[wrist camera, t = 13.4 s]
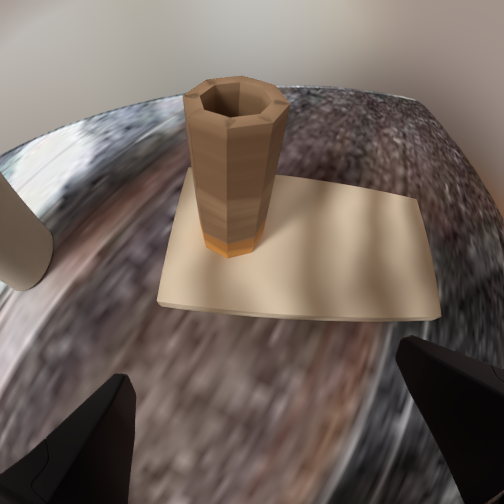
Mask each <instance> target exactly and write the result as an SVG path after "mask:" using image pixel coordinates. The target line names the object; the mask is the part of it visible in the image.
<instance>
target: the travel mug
mask: <svg viewBox="0 0 504 504" xmlns="http://www.w3.org/2000/svg"><path fill="white" fill-rule="evenodd" d="M52 252H53V239H52V235H51V233H50V231H49V230H48V229H47V228H46V227H45V225H44V224H43V223H42V222H41V221H40V220H39V219H38V218H37V217H36V215H35V214H34V213H33V212H32V211H31V210H30V209H29V207H28V206H27V205H26V204H25V203H24V201H23V200H22V199H21V198H20V197H19V195H18V194H17V193H16V192H15V190H14V189H13V188H12V187H11V185H10V184H9V183H8V181H7V180H6V179H5V177H4V176H3V175H2V173H1V172H0V280H1V281H2V282H4V283H5V284H7V285H8V286H10V287H12V288H13V289H15V290H18V291H24V290H27V289H30V288H31V287H33V286H34V285H35V284H36V283H37V282H38V281H39V280H40V279H41V278H42V276H43V275H44V273H45V272H46V270H47V268H48V265H49V263H50V260H51V257H52Z"/></svg>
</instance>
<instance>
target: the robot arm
mask: <svg viewBox="0 0 504 504" xmlns="http://www.w3.org/2000/svg"><path fill="white" fill-rule="evenodd" d="M395 358H396V363H397V365H398V367H399V369H400V371H401V374H402V376H403V378H404V380H405V383H406V385H407V387H408V390H409V392H410V394H411V396H412V398H413V400H414V401H415V403H416V405H417V407H418V409H419V410H420V412H421V414H422V416H423V418H424V420H425V421H426V423H427V425H428V427H429V429H430V431H431V433H432V435H433V437H434V439H435V441H436V443H437V445H438V447H439V449H440V451H441V453H442V455H443V457H444V459H445V461H446V463H447V465H448V467H449V469H450V471H451V474H452V475H453V478H454V481H455V483H456V485H457V487H458V490H459V492H460V494H461V497H462V499H463V502H464V504H485V503H486V502H488V501H489V500H491V499H492V498H494V497H495V496H496V495H498V494H499V493H500V492H502V491H503V490H504V369H501V368H498V367H496V366H493V365H490V364H487V363H485V362H482V361H479V360H476V359H474V358H471V357H468V356H466V355H463V354H460V353H458V352H455V351H452V350H450V349H447V348H444V347H442V346H439V345H436V344H434V343H431V342H429V341H426V340H423V339H421V338H418V337H416V336H413V335H409V336H406V337H403V338H402V339H401V340H400V343H399V346H398V349H397V352H396V357H395ZM135 413H136V393H135V390H134V388H133V386H132V383H131V381H130V379H129V377H128V375H127V374H114V375H113V376H111V377H110V378H109V379H108V380H107V381H106V382H105V383H104V384H103V385H102V386H101V387H100V388H98V389H97V390H96V391H95V392H94V393H93V394H92V395H91V396H90V397H89V398H88V399H87V400H86V401H84V402H83V403H82V404H81V405H80V406H79V407H78V408H77V409H76V410H75V411H74V412H73V413H72V414H70V415H69V416H68V417H67V418H66V419H65V420H64V421H63V422H62V423H61V424H60V425H59V426H58V427H57V428H55V429H54V430H53V431H52V432H51V433H50V434H49V435H48V436H47V437H46V439H44V440H42V441H41V442H40V443H39V444H38V445H37V446H36V447H35V448H34V449H33V450H31V451H30V452H29V453H28V454H27V455H25V456H24V457H23V458H22V459H20V460H19V461H18V462H16V463H15V464H14V465H12V466H11V467H9V468H8V469H7V470H5V471H4V472H2V473H1V474H0V504H128V494H129V482H130V472H131V464H132V455H133V448H134V439H135ZM492 504H504V492H503V493H502V494H501V495H500V496H499V497H498V498H497V499H496V500H495V501H494V502H493V503H492Z"/></svg>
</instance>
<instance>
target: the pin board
mask: <svg viewBox="0 0 504 504" xmlns="http://www.w3.org/2000/svg"><path fill="white" fill-rule="evenodd" d="M157 302H158V303H159V304H160V305H161V306H163V307H170V308H178V309H186V310H194V311H202V312H211V313H221V314H231V315H242V316H254V317H267V318H282V319H299V320H322V321H427V320H434V319H436V318H439V317H441V310H440V302H439V295H438V288H437V282H436V277H435V271H434V266H433V261H432V256H431V252H430V247H429V243H428V239H427V235H426V231H425V227H424V223H423V220H422V216H421V213H420V209H419V206H418V203H417V199H413V198H409V197H405V196H400V195H396V194H391V193H387V192H382V191H377V190H372V189H367V188H361V187H356V186H350V185H345V184H339V183H333V182H327V181H320V180H313V179H307V178H299V177H292V176H284V175H275V180H274V184H273V189H272V194H271V199H270V203H269V208H268V213H267V217H266V222H265V227H264V232H263V235H262V236H261V238H260V240H259V241H258V243H257V245H256V246H255V248H254V250H253V251H252V253H248V254H244V255H240V256H236V257H232V258H228V259H227V258H225V257H223V256H222V255H220V254H218V253H216V252H214V251H212V250H210V249H208V248H206V245H205V241H204V237H203V233H202V230H201V225H200V220H199V213H198V207H197V201H196V195H195V188H194V181H193V174H192V168H190V167H188V171H187V174H186V178H185V181H184V185H183V188H182V192H181V196H180V199H179V203H178V207H177V211H176V215H175V219H174V223H173V227H172V231H171V235H170V239H169V244H168V248H167V253H166V257H165V262H164V267H163V272H162V277H161V282H160V287H159V292H158V298H157Z"/></svg>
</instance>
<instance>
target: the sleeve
mask: <svg viewBox="0 0 504 504" xmlns="http://www.w3.org/2000/svg"><path fill="white" fill-rule="evenodd" d="M183 102H184V112H185V121H186V129H187V137H188V145H189V153H190V160H191V167H192V174H193V181H194V188H195V195H196V201H197V207H198V213H199V220H200V225H201V230H202V233H203V237H204V241H205V245H206V248H208V249H210V250H212V251H214V252H216V253H218V254H220V255H222V256H223V257H225V258H227V259H228V258H232V257H236V256H240V255H244V254H248V253H252V251H253V250H254V248H255V246H256V245H257V243H258V241H259V240H260V238H261V236H262V235H263V232H264V227H265V222H266V217H267V213H268V208H269V203H270V199H271V194H272V189H273V184H274V180H275V175H276V170H277V165H278V161H279V156H280V151H281V146H282V141H283V137H284V132H285V127H286V122H287V117H288V112H289V107H290V103H289V102H288V101H287V100H286V98H285V97H284V96H283V94H282V93H281V92H280V91H279V89H278V88H277V87H276V86H275V85H273V84H269V83H266V82H263V81H259V80H255V79H252V78H248V77H245V76H235V77H225V78H216V79H209V80H205V81H204V82H202V83H201V84H199V85H198V86H196V87H195V88H193V89H192V90H191V91H189V92H188V93H186V94H185V95H183Z"/></svg>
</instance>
